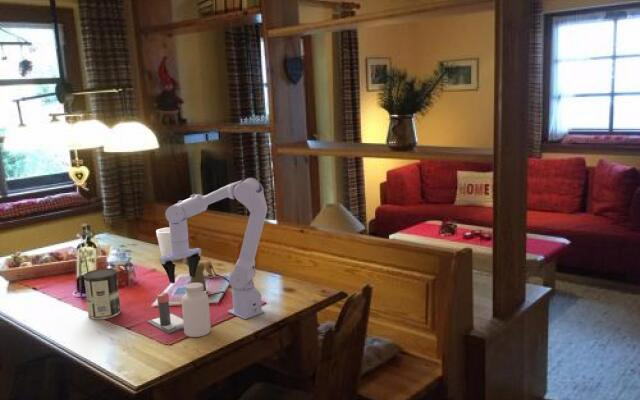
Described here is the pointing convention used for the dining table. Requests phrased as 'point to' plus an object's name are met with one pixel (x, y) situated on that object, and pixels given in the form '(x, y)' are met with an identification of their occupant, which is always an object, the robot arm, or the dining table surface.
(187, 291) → the pill bottle
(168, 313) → the marker
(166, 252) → the foam cup
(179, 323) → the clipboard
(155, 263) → the dining table surface
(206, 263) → the lion figurine
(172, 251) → the robot arm
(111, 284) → the coffee can
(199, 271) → the brown upright piece
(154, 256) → the dining table surface
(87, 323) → the dining table surface
